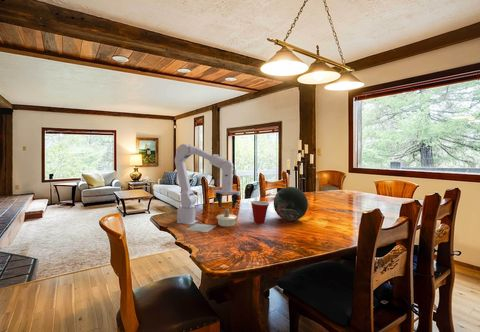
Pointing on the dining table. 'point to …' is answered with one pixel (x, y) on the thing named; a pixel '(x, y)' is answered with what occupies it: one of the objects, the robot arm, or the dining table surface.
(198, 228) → the mat
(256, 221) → the plastic cup
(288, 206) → the decorative sphere
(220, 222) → the bowl
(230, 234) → the dining table surface
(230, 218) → the lid
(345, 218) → the dining table surface
